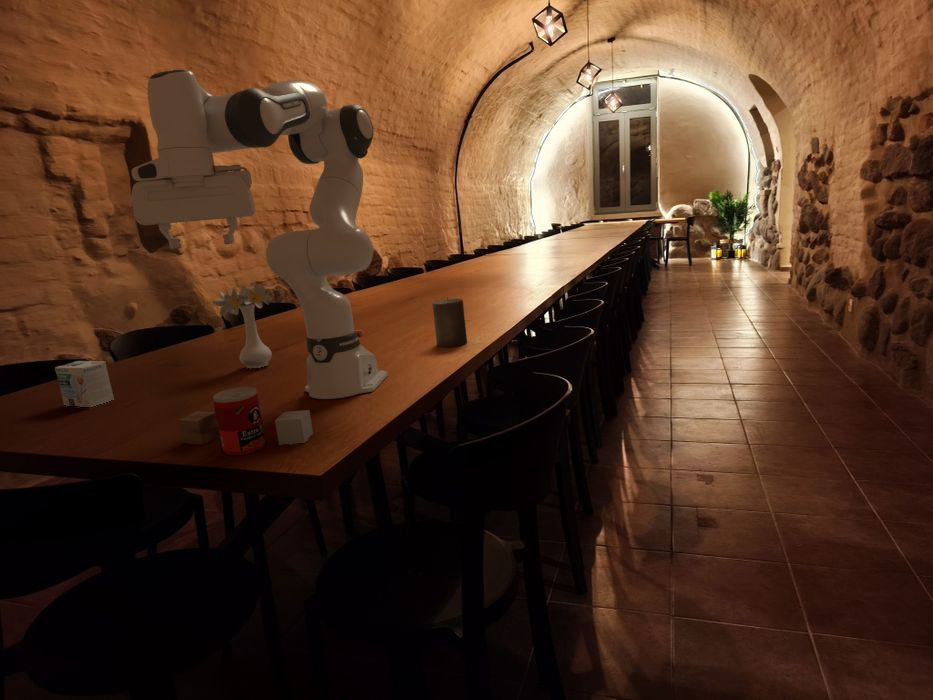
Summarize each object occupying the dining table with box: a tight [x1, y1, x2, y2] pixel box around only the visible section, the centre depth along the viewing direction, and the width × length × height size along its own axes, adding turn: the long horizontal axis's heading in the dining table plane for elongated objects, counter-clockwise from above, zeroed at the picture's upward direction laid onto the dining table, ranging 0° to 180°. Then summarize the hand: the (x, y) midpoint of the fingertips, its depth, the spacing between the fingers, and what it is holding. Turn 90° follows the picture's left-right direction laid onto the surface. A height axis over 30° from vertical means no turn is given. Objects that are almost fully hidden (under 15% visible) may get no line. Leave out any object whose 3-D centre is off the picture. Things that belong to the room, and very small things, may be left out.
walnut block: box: [177, 411, 220, 445], centre depth 117 cm, size 5×5×5 cm
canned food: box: [212, 386, 266, 456], centre depth 109 cm, size 8×8×11 cm
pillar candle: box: [432, 296, 468, 348], centre depth 182 cm, size 10×10×15 cm
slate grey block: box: [274, 409, 314, 446], centre depth 112 cm, size 5×5×5 cm
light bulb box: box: [54, 360, 115, 408], centre depth 151 cm, size 11×7×11 cm, turn 68°
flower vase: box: [212, 283, 273, 370], centre depth 173 cm, size 13×18×25 cm
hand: (202, 246), depth 107 cm, fingers open, 8 cm apart
